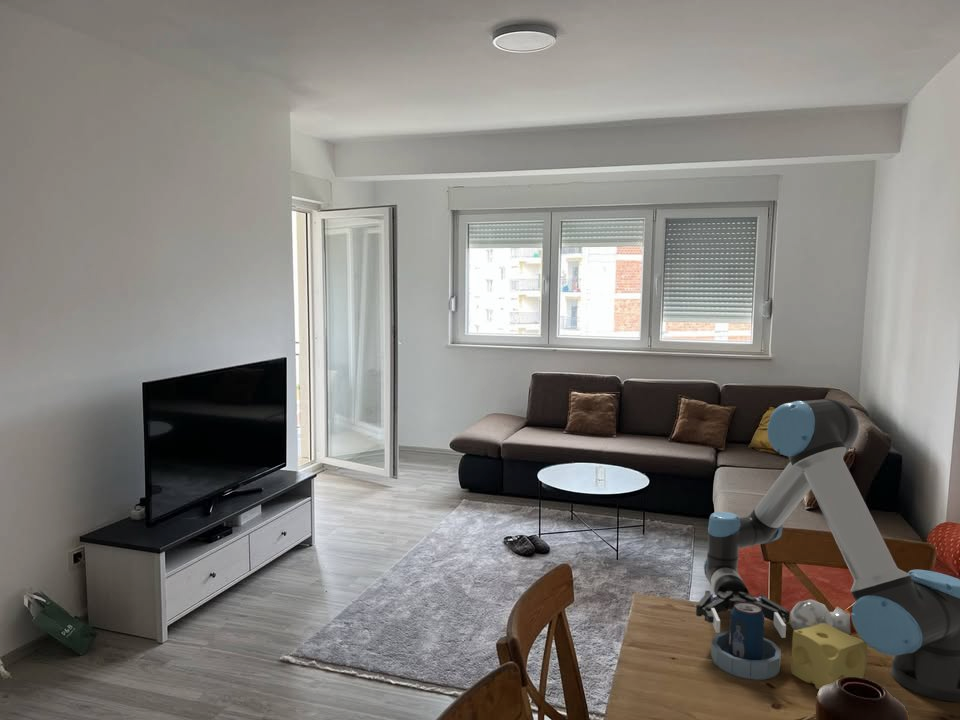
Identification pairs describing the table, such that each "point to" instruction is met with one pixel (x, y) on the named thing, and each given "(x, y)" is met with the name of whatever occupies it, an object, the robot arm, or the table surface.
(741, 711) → the table surface
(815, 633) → the cheese
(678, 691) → the table surface
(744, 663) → the bowl
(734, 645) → the soda can
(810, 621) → the potion bottle
